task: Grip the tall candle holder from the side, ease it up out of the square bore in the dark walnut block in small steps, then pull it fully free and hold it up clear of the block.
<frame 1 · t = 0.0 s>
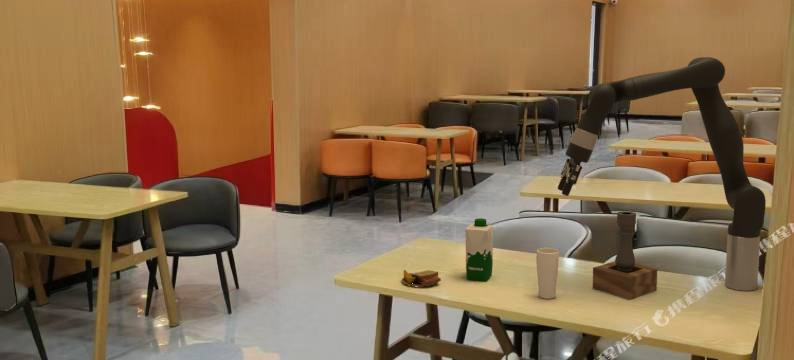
hand: (562, 192, 221), 31 cm above the table, tool tilted 20°, fingers open, 8 cm apart
milk carton: (479, 278, 238), on the table
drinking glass: (547, 297, 218), on the table
candle holder: (624, 290, 223), resting in bore block
bore block: (624, 289, 223), on the table
toy sandwich meal: (422, 283, 235), on the table
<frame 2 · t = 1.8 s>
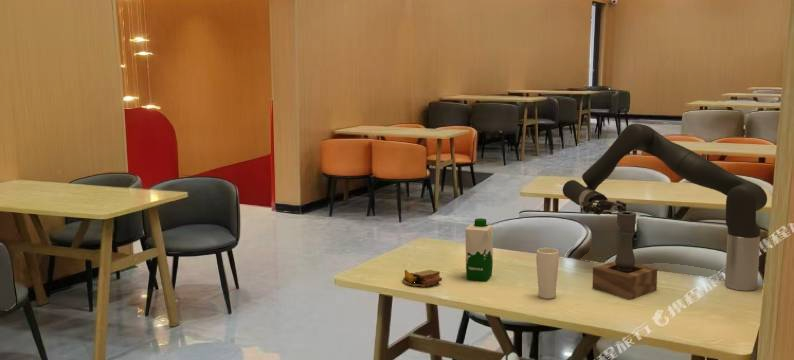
hand: (611, 211, 230), 23 cm above the table, tool horizontal, fingers open, 8 cm apart
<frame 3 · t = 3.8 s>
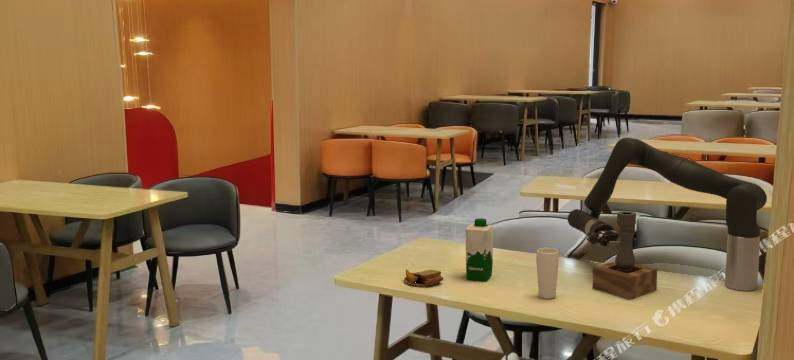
hand: (618, 242, 226), 14 cm above the table, tool horizontal, fingers open, 8 cm apart
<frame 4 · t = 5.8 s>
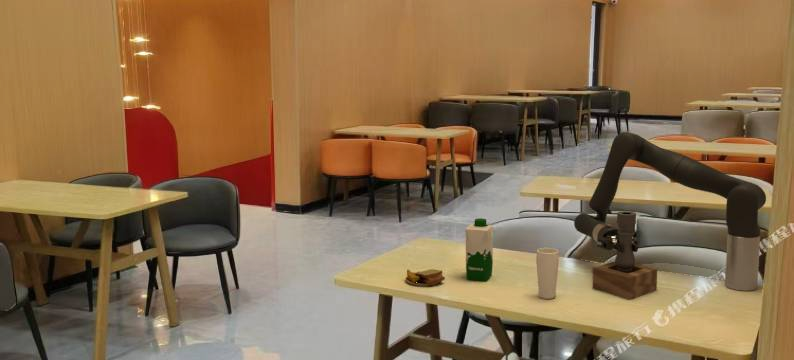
hand: (629, 249, 218), 14 cm above the table, tool horizontal, fingers closed on candle holder, 4 cm apart
candle holder: (624, 289, 223), resting in bore block, touching gripper
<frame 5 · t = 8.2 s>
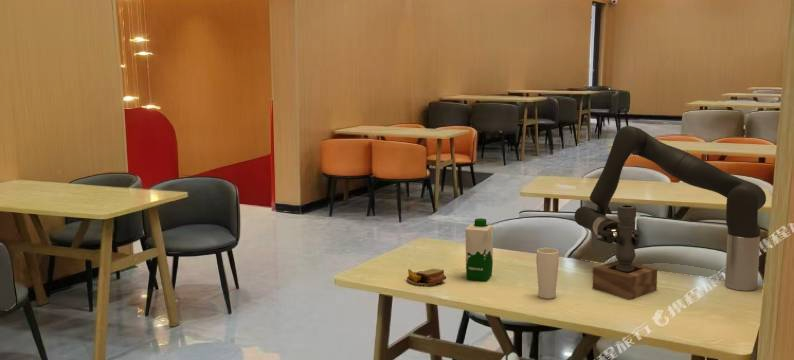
hand: (629, 242, 217), 16 cm above the table, tool horizontal, fingers closed on candle holder, 4 cm apart
candle holder: (624, 283, 223), point 2 cm above the table, touching gripper
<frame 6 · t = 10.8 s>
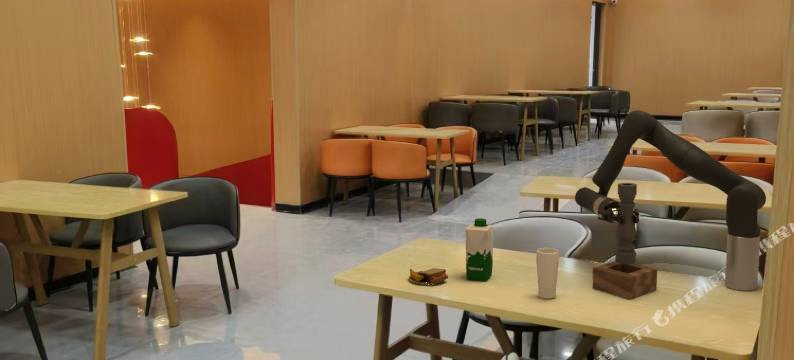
hand: (630, 220, 216), 23 cm above the table, tool horizontal, fingers closed on candle holder, 4 cm apart
candle holder: (625, 262, 221), point 9 cm above the table, touching gripper
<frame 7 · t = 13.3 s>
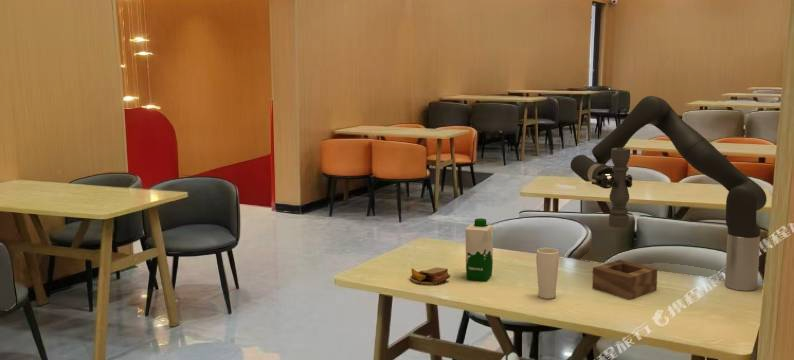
hand: (623, 184, 220), 34 cm above the table, tool horizontal, fingers closed on candle holder, 4 cm apart
candle holder: (618, 225, 225), point 19 cm above the table, touching gripper
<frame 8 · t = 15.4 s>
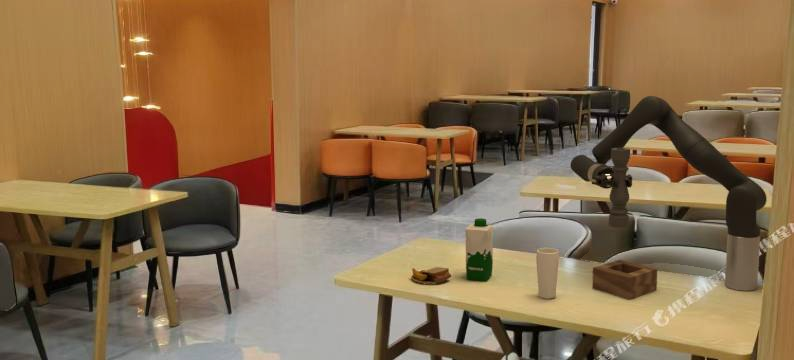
hand: (623, 184, 220), 34 cm above the table, tool horizontal, fingers closed on candle holder, 4 cm apart
candle holder: (618, 225, 225), point 19 cm above the table, touching gripper
at the end: the gripper is holding candle holder; candle holder point 19.5 cm above the table; candle holder tilted 1° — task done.
